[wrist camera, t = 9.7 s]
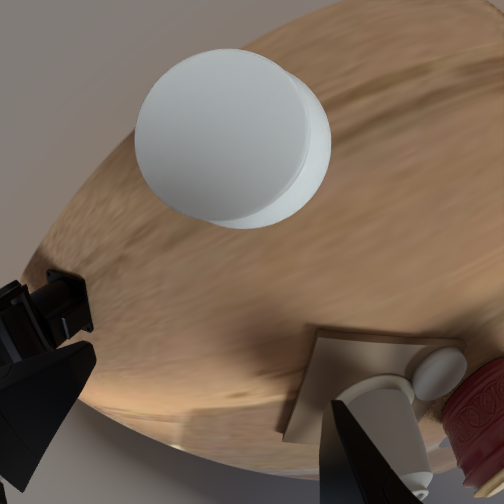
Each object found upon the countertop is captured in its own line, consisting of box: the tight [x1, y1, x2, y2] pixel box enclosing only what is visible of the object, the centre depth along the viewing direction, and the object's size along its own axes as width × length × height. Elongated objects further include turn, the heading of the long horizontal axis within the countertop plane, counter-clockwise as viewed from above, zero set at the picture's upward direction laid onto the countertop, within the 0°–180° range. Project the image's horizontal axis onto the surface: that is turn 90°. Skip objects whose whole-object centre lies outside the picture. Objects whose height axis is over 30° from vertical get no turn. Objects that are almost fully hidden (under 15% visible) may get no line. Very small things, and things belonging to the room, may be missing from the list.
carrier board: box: [282, 329, 467, 445], centre depth 22 cm, size 16×16×3 cm
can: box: [346, 389, 433, 501], centre depth 16 cm, size 8×8×12 cm
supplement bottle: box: [135, 49, 331, 229], centre depth 12 cm, size 7×7×13 cm
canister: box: [442, 358, 504, 497], centre depth 13 cm, size 13×13×18 cm
